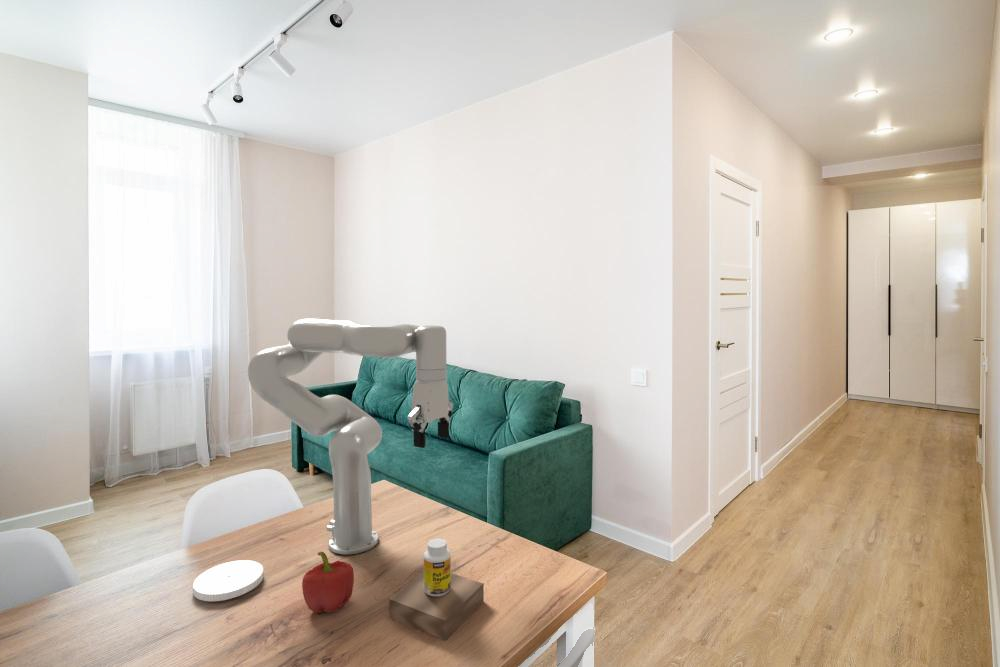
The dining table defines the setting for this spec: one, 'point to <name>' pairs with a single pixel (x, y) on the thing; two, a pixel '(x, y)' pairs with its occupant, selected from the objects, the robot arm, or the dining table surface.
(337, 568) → the vegetable
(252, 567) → the plastic lid
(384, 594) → the dining table surface
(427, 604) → the walnut base
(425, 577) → the supplement bottle
